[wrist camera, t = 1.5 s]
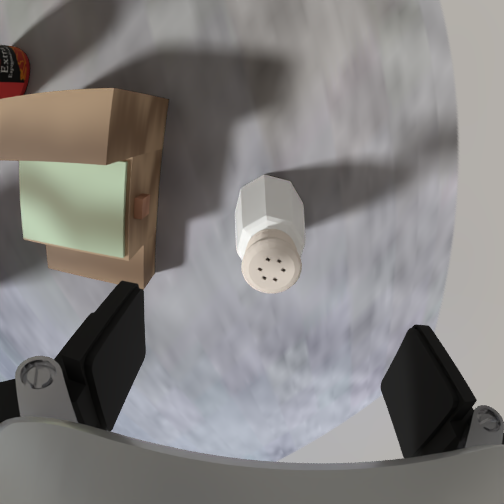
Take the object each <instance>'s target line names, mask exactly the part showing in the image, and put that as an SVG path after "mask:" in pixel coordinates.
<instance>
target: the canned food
mask: <svg viewBox="0 0 504 504" xmlns="http://www.w3.org/2000/svg"><path fill="white" fill-rule="evenodd" d="M29 73H30V65H29V60H28V57H27V55H26V54H25V53H24V52H23V51H22V50H21V49H19V48H17V47H12V46H6V45H0V99H3V98H8V97H14V96H21V95H24V93H25V90H26V87H27V84H28V80H29Z"/></svg>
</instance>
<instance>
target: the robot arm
mask: <svg viewBox="0 0 504 504" xmlns="http://www.w3.org/2000/svg"><path fill="white" fill-rule="evenodd" d="M145 353H146V347H145V324H144V291H143V289H140V288H139V285H138V284H137V283H132V282H128V281H121V282H120V283H119V284H118V285H117V286H116V287H115V288H114V290H113V291H112V292H111V293H110V294H109V296H108V297H107V298H106V299H105V300H104V302H103V303H102V304H101V305H100V306H99V308H98V309H97V310H96V311H95V312H94V313H91V314H90V315H89V316H88V317H87V318H86V320H85V321H84V322H83V323H82V325H81V326H80V327H79V328H78V330H77V331H76V332H75V333H74V335H73V336H72V337H71V338H70V340H69V341H68V342H67V343H66V345H65V346H64V347H63V349H62V350H61V351H60V352H59V354H58V355H57V356H56V358H55V359H52V358H50V357H45V356H35V357H31V358H28V359H27V360H25V361H23V362H22V363H21V364H20V365H19V366H18V368H17V370H16V374H15V379H12V380H8V381H4V382H0V504H504V433H503V432H504V422H503V419H502V417H501V416H500V414H499V413H498V412H497V411H496V410H494V409H493V408H491V407H489V406H486V405H481V406H478V407H477V408H476V409H475V410H473V408H472V406H473V405H474V404H475V402H476V398H475V396H474V395H473V393H472V391H471V390H470V388H469V387H468V385H467V383H466V381H465V380H464V378H463V377H462V375H461V373H460V372H459V370H458V368H457V367H456V366H455V364H454V362H453V361H452V359H451V358H450V356H449V354H448V353H447V351H446V350H445V348H444V347H443V346H442V344H441V342H440V341H439V339H438V338H437V337H436V335H435V333H434V332H433V331H432V329H431V328H430V327H429V326H426V325H414V326H413V327H412V328H410V329H409V330H408V331H407V333H406V335H405V337H404V340H403V342H402V344H401V346H400V348H399V350H398V352H397V354H396V356H395V358H394V359H393V361H392V363H391V365H390V367H389V369H388V371H387V373H386V375H385V376H384V378H383V380H382V382H381V391H382V394H383V397H384V400H385V402H386V405H387V408H388V411H389V414H390V417H391V420H392V423H393V426H394V429H395V432H396V435H397V438H398V441H399V444H400V447H401V451H402V454H403V457H404V459H396V460H385V461H374V462H359V463H330V464H328V463H327V464H317V463H316V464H315V463H313V464H312V463H284V462H269V461H257V460H247V459H238V458H230V457H223V456H216V455H210V454H204V453H198V452H193V451H187V450H182V449H178V448H173V447H168V446H164V445H159V444H155V443H151V442H146V441H142V440H139V439H135V438H131V437H127V436H124V435H120V434H117V433H113V432H110V431H111V430H112V429H113V427H114V424H115V422H116V420H117V418H118V415H119V413H120V411H121V409H122V406H123V404H124V402H125V400H126V397H127V395H128V393H129V391H130V389H131V386H132V384H133V382H134V380H135V378H136V376H137V373H138V371H139V369H140V367H141V365H142V363H143V361H144V358H145Z"/></svg>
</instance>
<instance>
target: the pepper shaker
mask: <svg viewBox="0 0 504 504" xmlns="http://www.w3.org/2000/svg"><path fill="white" fill-rule="evenodd" d="M235 232H236V250H237V253H238V255H239V256H240V258H241V259H242V273H243V276H244V278H245V280H246V281H247V283H248V284H249V285H250V286H251V287H253V288H254V289H256V290H258V291H260V292H264V293H279V292H283V291H285V290H287V289H289V288H290V287H291V286H292V285H294V284H295V283H296V281H297V280H298V278H299V276H300V273H301V267H302V263H301V259H300V258H301V255H302V252H303V249H304V245H305V221H304V205H303V202H302V201H301V199H300V197H299V195H298V194H297V192H296V190H295V188H294V187H293V185H292V183H291V181H287V180H284V179H280V178H276V177H272V176H268V175H262V176H261V177H259V178H257V179H255V180H254V181H252V182H250V183H248V184H247V185H245V186H243V187H242V188H241V190H240V194H239V198H238V202H237V206H236V210H235Z"/></svg>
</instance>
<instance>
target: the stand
mask: <svg viewBox="0 0 504 504" xmlns="http://www.w3.org/2000/svg"><path fill="white" fill-rule="evenodd" d="M168 103H169V99H165V98H161V97H156V96H152V95H147V94H143V93H138V92H133V91H128V90H122V89H117V88H96V89H77V90H64V91H53V92H44V93H35V94H28V95H21V96H14V97H8V98H3V99H0V160H9V161H19V186H20V206H21V219H22V230H23V239H24V240H28V241H32V242H37V243H42V244H46V253H47V261H48V268H50V269H54V270H58V271H62V272H67V273H71V274H75V275H79V276H83V277H88V278H92V279H96V280H101V281H105V282H110V283H114V284H119V283H120V282H121V281H128V282H132V283H137V284H138V285H139V288H140V289H143V290H144V288H145V287H146V285H147V284H148V282H149V281H150V279H151V278H152V276H153V275H154V274H155V245H156V223H157V207H158V193H159V181H160V169H161V159H162V150H163V141H164V133H165V125H166V117H167V110H168Z"/></svg>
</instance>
